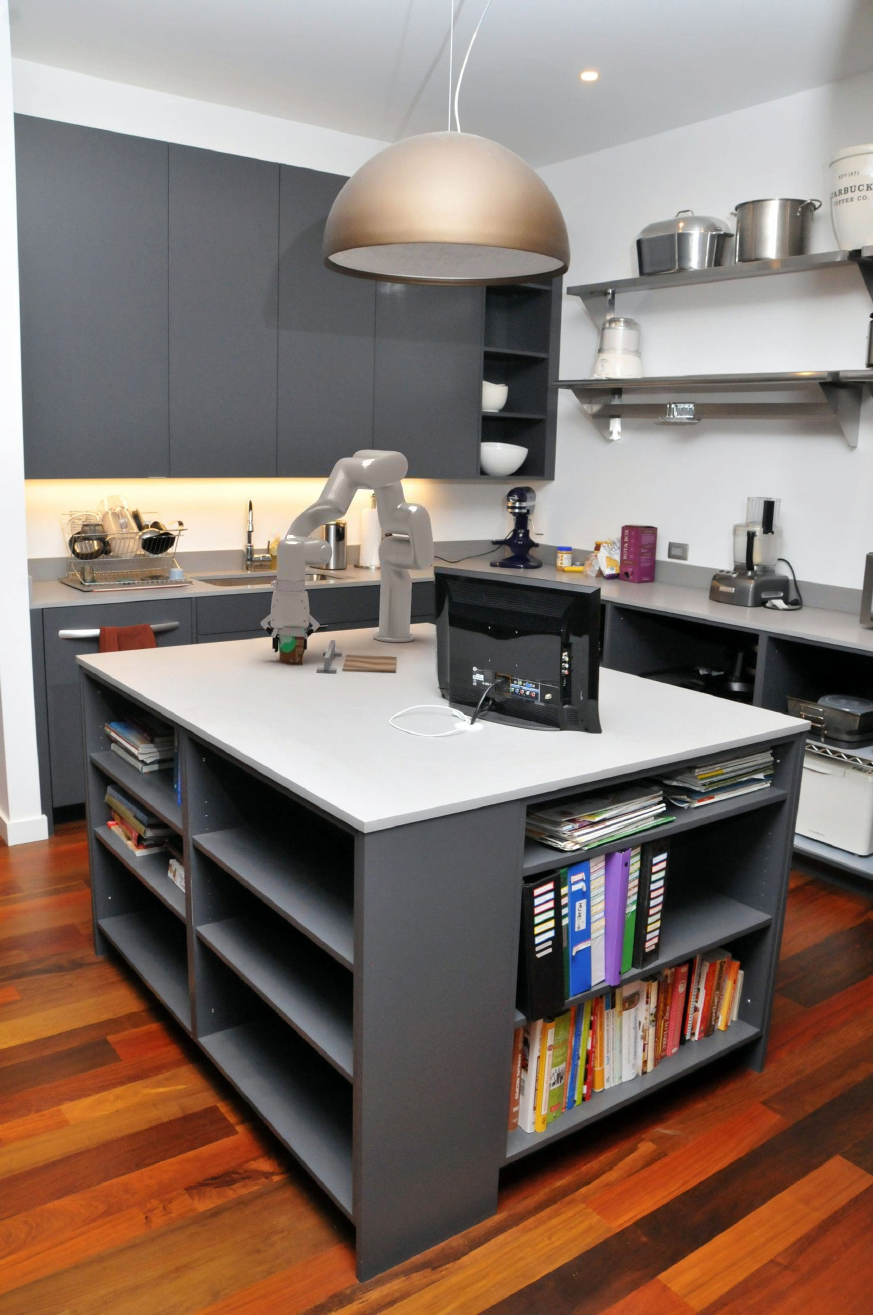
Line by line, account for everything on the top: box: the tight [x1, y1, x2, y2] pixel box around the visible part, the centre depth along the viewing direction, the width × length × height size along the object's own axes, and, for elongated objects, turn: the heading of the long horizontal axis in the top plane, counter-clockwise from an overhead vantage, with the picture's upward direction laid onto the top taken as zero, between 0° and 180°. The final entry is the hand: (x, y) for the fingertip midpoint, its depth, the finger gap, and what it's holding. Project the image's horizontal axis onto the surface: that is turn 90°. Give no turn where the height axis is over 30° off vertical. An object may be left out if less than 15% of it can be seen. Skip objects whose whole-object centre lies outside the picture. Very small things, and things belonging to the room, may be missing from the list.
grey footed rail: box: [316, 639, 343, 674], centre depth 271 cm, size 24×5×4 cm, turn 2°
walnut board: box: [342, 654, 397, 674], centre depth 272 cm, size 18×14×1 cm
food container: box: [277, 627, 305, 666], centre depth 270 cm, size 12×6×10 cm, turn 22°
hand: (289, 651), depth 270 cm, fingers closed on food container, 6 cm apart
